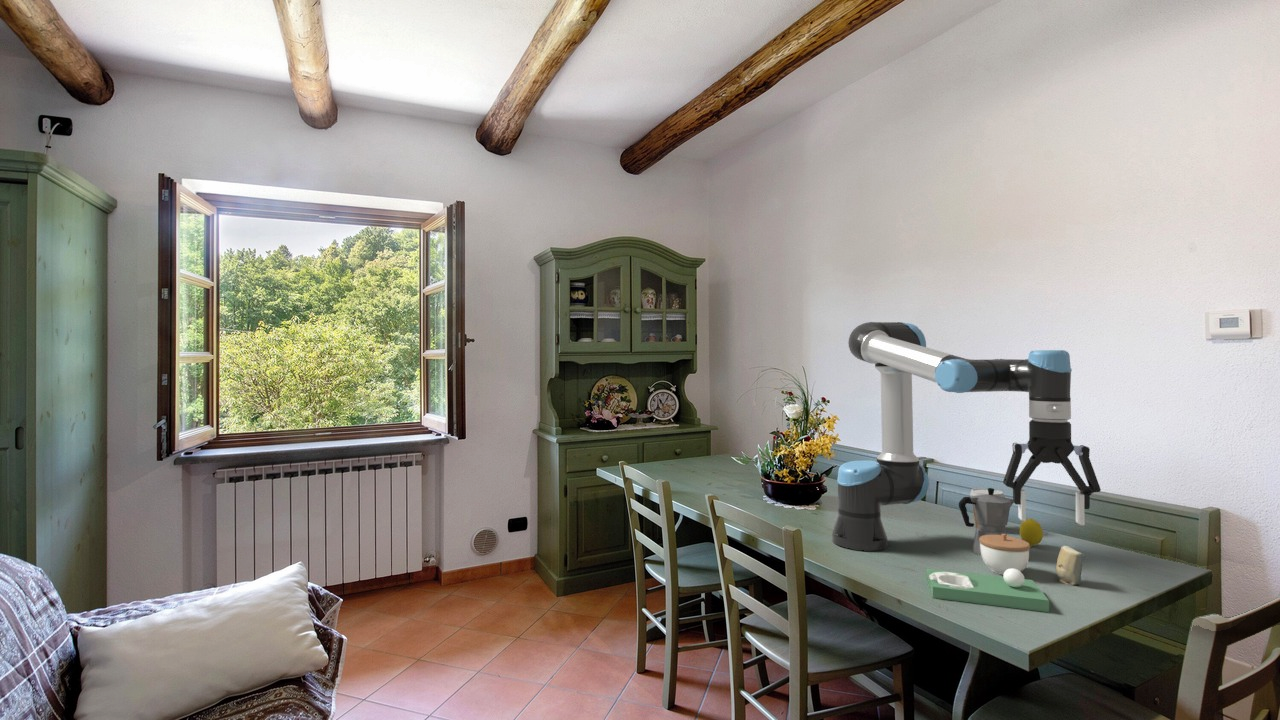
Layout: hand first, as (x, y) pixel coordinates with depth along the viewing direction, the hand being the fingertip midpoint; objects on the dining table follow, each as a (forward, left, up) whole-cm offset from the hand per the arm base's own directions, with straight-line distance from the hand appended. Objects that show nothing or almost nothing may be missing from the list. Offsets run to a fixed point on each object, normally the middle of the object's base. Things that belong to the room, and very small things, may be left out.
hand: (1050, 521), depth 126 cm
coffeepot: (-6, +32, -18) cm, 37 cm away
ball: (-7, 0, -13) cm, 15 cm away
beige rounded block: (+8, +15, -18) cm, 25 cm away
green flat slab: (-13, 0, -18) cm, 22 cm away
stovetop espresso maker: (-1, +58, -18) cm, 61 cm away
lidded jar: (-5, +18, -18) cm, 26 cm away
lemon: (+7, +43, -18) cm, 47 cm away
